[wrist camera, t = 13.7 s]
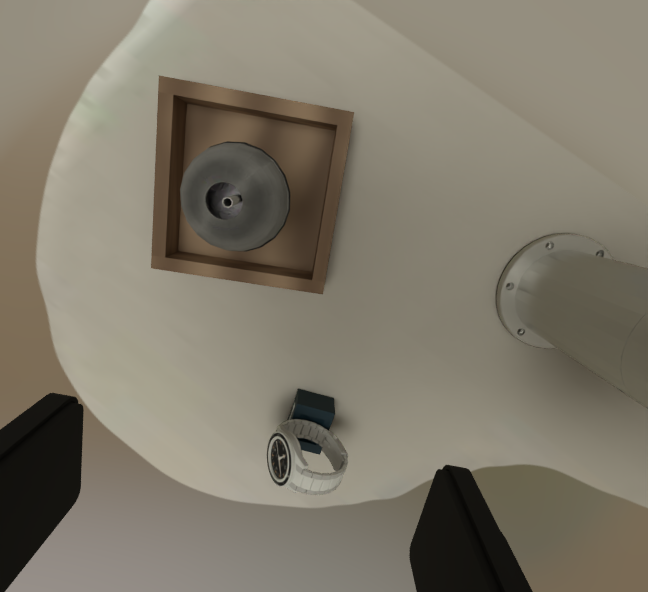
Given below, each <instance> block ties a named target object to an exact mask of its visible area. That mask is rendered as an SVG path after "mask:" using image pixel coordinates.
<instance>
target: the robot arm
mask: <svg viewBox="0 0 648 592" xmlns="http://www.w3.org/2000/svg"><path fill="white" fill-rule="evenodd" d="M546 244H547V245H546ZM507 284H508V285H507ZM506 285H507V286H506ZM496 298H497V309H498V313H499V317H500V319H501V321H502V323H503V325H504V326H505V327H506V329H507V330H508V331H509V332H510V333H511V334H512V335H514V336H515V337H516V338H517V339H519V340H520V341H522V342H524V343H525V344H528V345H531V346H534V347H539V348H558V349H559V350H561V351H562V352H564V353H565V354H567V355H568V356H570V357H571V358H573V359H574V360H576V361H577V362H579V363H580V364H582V365H583V366H585V367H586V368H588V369H589V370H591V371H592V372H594V373H595V374H597V375H598V376H599V377H601V378H602V379H604V380H605V381H607V382H608V383H610V384H611V385H613V386H614V387H616V388H617V389H619V390H620V391H622V392H623V393H625V394H626V395H628V396H629V397H631V398H632V399H634V400H635V401H637V402H638V403H640V404H642V405H643V406H645V407H646V408H648V269H647V268H643V267H639V266H635V265H632V264H628V263H624V262H620V261H616V260H613V258H612V256H611V255H610V253H609V252H608V250H607V249H606V248H604V247H603V246H602V245H601V244H600V243H598V242H597V241H595V240H593V239H591V238H588V237H585V236H581V235H576V234H569V233H566V234H554V235H550V236H545V237H543V238H541V239H538V240H536V241H534V242H532V243H531V244H529V245H527V246H526V247H524V248H523V249H522V250H521V251H520V252H519V253H517V254H516V255H515V256H514V258H513V259H512V260H511V261H510V263H509V264H508V265H507V267H506V269H505V270H504V272H503V274H502V276H501V279H500V282H499V285H498V290H497V296H496ZM82 433H83V406H82V405H81V404H78V400H77V398H76V397H72V396H67V395H62V394H56V393H50V394H48V395H46V396H45V397H43V398H42V399H41V400H39V401H38V402H37V403H36V404H34V405H33V406H32V407H30V408H29V409H27V410H26V411H25V412H23V413H22V414H21V415H19V416H18V417H17V418H15V419H14V420H13V421H11V422H10V423H9V424H7V425H6V426H5V427H3V428H2V429H1V430H0V592H5V591H6V589H7V588H8V587H9V585H10V584H11V583H12V582H13V581H14V579H15V578H16V577H17V575H18V574H19V573H20V572H21V571H22V569H23V568H24V567H25V565H26V564H27V563H28V562H29V560H30V559H31V558H32V557H33V555H34V554H35V553H36V552H37V550H38V549H39V548H40V547H41V545H42V544H43V543H44V541H45V540H46V539H47V538H48V536H49V535H50V534H51V533H52V532H53V530H54V529H55V528H56V526H57V525H58V524H59V523H60V521H61V520H62V519H63V518H64V516H65V515H66V514H67V513H68V511H69V510H70V509H71V508H72V506H73V505H74V503H75V502H76V500H77V498H78V496H79V493H80V488H81V462H82V461H81V460H82V435H83V434H82ZM410 563H411V567H412V572H413V576H414V581H415V585H416V590H417V592H532V590H531V588H530V586H529V584H528V582H527V580H526V578H525V576H524V574H523V572H522V570H521V568H520V566H519V564H518V562H517V560H516V558H515V556H514V555H513V552H512V550H511V548H510V546H509V544H508V542H507V540H506V538H505V537H504V536H503V534H502V532H501V531H500V530H499V528H498V526H497V524H496V522H495V520H494V518H493V516H492V514H491V512H490V510H489V508H488V506H487V504H486V502H485V500H484V498H483V496H482V494H481V492H480V490H479V488H478V486H477V484H476V482H475V480H474V478H473V476H472V474H471V472H470V471H469V469H467V468H462V467H456V466H451V465H445V466H444V467H443V469H442V470H441V469H438V470H437V471H436V474H435V476H434V479H433V482H432V485H431V488H430V491H429V494H428V497H427V499H426V503H425V505H424V508H423V511H422V514H421V517H420V520H419V522H418V525H417V528H416V531H415V534H414V537H413V539H412V542H411V546H410Z"/></svg>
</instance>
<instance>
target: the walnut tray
mask: <svg viewBox="0 0 648 592" xmlns="http://www.w3.org/2000/svg"><path fill="white" fill-rule="evenodd" d="M353 116H354V112H349V111H344V110H339V109H334V108H328V107H323V106H318V105H312V104H307V103H302V102H296V101H291V100H286V99H280V98H275V97H270V96H265V95H259V94H254V93H249V92H243V91H238V90H233V89H227V88H222V87H217V86H211V85H206V84H201V83H196V82H190V81H185V80H180V79H174V78H169V77H164V76H159V89H158V113H157V138H156V162H155V187H154V211H153V236H152V260H151V268H154V269H160V270H167V271H173V272H180V273H186V274H193V275H200V276H206V277H213V278H219V279H226V280H232V281H239V282H246V283H252V284H259V285H265V286H272V287H278V288H285V289H291V290H298V291H305V292H311V293H318V294H323V290H324V284H325V279H326V273H327V267H328V261H329V255H330V249H331V244H332V238H333V232H334V226H335V220H336V215H337V209H338V203H339V197H340V191H341V186H342V180H343V174H344V168H345V162H346V156H347V151H348V145H349V139H350V133H351V127H352V122H353ZM227 141H231V142H246V143H248V144H251V145H253V146H256V147H258V148H261V149H262V150H264V151H265V152H266V153H267V154H269V155H270V156H271V157H272V158H273V159H275V160H276V162H277V163H278V165H279V166H280V168H281V169H282V171H283V172H284V174H285V175H286V179H287V182H288V186H289V189H290V211H289V214H288V217H287V220H286V223H285V226H284V227H283V228H282V230H281V231H280V232H279V234H278V235H277V236H276V238H275V239H273V240H272V241H270V242H269V243H267V244H266V245H264V246H263V247H261V248H257V249H254V250H250V251H247V252H244V251H228V250H224V249H221V248H218V247H216V246H213V245H210V244H209V243H208V242H206V241H205V240H203V239H202V238H201V237H199V236H198V235H197V234H196V233H195V231H194V230H193V229H192V227H191V226H190V225H189V223H188V222H187V220H186V217H185V215H184V212H183V209H182V207H181V196H180V187H181V183H182V179H183V176H184V172H185V171H186V169H187V168H188V166H189V165H190V163H191V162H192V160H193V159H194V158H195V157H197V156H198V155H199V154H201V153H202V152H203V151H205V150H206V149H207V148H209V147H210V146H213V145H217V144H220V143H223V142H227Z"/></svg>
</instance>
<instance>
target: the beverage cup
mask: <svg viewBox="0 0 648 592" xmlns="http://www.w3.org/2000/svg"><path fill="white" fill-rule="evenodd" d="M180 196H181V207H182V209H183V212H184V215H185V217H186V220H187V222H188V223H189V225H190V226H191V227H192V229H193V230H194V231H195V233H196V234H197V235H198V236H199V237H201V238H202V239H203V240H205V241H206V242H208V243H209V244H210V245H213V246H216V247H218V248H221V249H224V250H228V251H244V252H247V251H250V250H254V249H257V248H261V247H263V246H264V245H266V244H267V243H269V242H270V241H272V240H273V239H275V238H276V236H277V235H278V234H279V232H280V231H281V230H282V228H283V227H284V226H285V223H286V220H287V217H288V214H289V211H290V189H289V186H288V182H287V179H286V175H285V174H284V172H283V171H282V169H281V168H280V166H279V165H278V163H277V162H276V160H275V159H273V158H272V157H271V156H270V155H269V154H267V153H266V152H265V151H264V150H262V149H261V148H258V147H256V146H253V145H251V144H248V143H246V142H231V141H227V142H223V143H220V144H217V145H213V146H210V147H209V148H207V149H206V150H205V151H203V152H202V153H201V154H199V155H198V156H197V157H195V158H194V159H193V160H192V162H191V163H190V165H189V166H188V168H187V169H186V171H185V172H184V176H183V179H182V183H181V187H180Z"/></svg>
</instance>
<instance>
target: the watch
mask: <svg viewBox="0 0 648 592" xmlns="http://www.w3.org/2000/svg"><path fill="white" fill-rule="evenodd" d="M334 415H335V407H334V398H331V397H327V396H324V395H320V394H316V393H312V392H309V391H305V390H301V389H298V391H297V394H296V397H295V400H294V403H293V406H292V409H291V412H290V415H289V417H288V420H287V421H285V422H283V423H281V424H280V425H279V426H278V427H277V430H276V432H275V433H273V434H272V436H271V438H270V440H269V443H268V448H267V463H268V469H269V472H270V475H271V478H272V480H273V481H274V483H275V484H276V485H277V486H279V487H286V488H287V489H289V490H291V491H293V492H295V493H296V492H301V493H305V492H306V494H309V495H323V494H327V493H330V492H331V491H333V490H335V489H336V488H337V487H338V486H339V484H340V482H341V480H342V477H343V475H344V472H345V470H346V467H347V464H348V459H347V458H348V454H347V452H346V450H345V448H344V446H343V445H342V443H341V442H340V440H339V439H338V438H337V436H336V435H335V434H334V433H333V432H332V431H331V430H330V432H329V429H330V426H331V423H332V421H333V418H334ZM302 450H304V451H308V452H312V453H316V454H320V453H321V450H322V451H323V452H324V453H325V455H326V456H327V457H328V459H329V460H330V462H331V464H332V466H333V468H334V470H335V471H336V472H333V473H330V474H329V473H322V474H321V473H318V472H312V471H310V470H308V469H306V468H308V464H307V462H306V461H305V459H304V457H303V456H302Z"/></svg>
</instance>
